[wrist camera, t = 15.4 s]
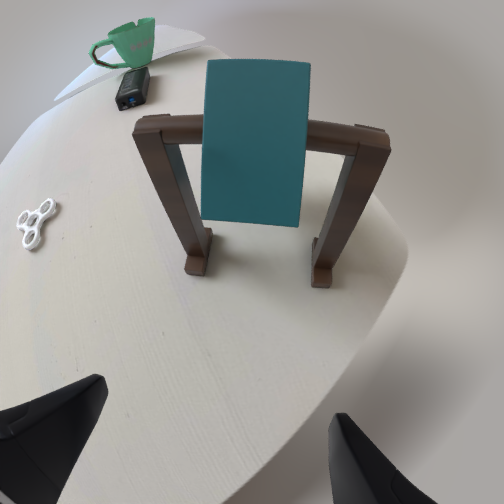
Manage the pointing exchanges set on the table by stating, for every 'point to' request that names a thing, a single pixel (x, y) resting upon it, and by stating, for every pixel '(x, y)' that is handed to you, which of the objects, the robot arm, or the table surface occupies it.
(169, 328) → the table surface
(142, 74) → the multiport hub
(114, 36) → the mug
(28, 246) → the fidget spinner
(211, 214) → the teal angular block
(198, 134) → the rack
